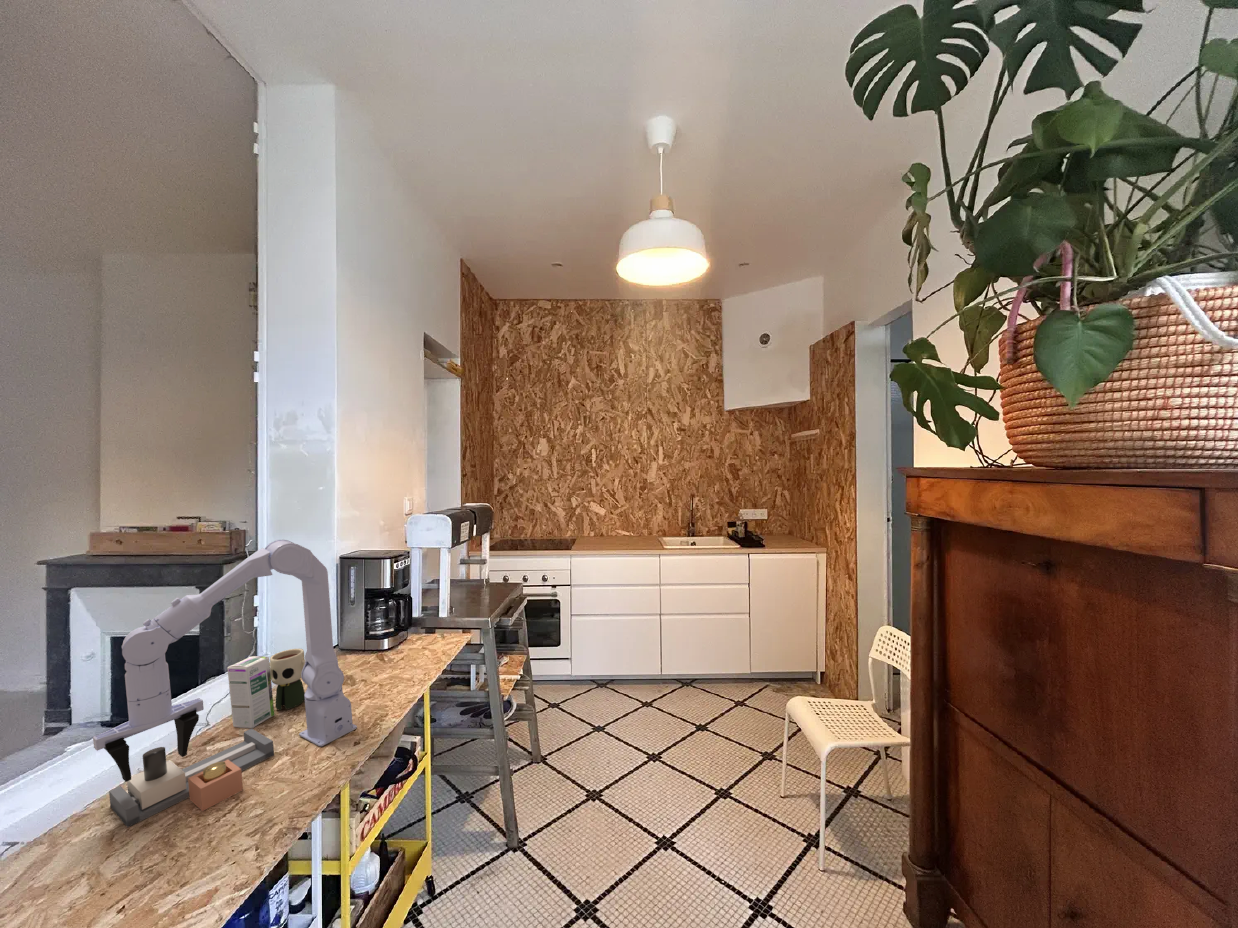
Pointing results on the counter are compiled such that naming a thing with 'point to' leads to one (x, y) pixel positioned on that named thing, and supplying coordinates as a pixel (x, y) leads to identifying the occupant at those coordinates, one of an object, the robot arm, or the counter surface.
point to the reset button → (214, 771)
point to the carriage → (156, 779)
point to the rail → (240, 754)
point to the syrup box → (250, 691)
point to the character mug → (288, 677)
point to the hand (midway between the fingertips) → (155, 766)
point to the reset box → (215, 787)
